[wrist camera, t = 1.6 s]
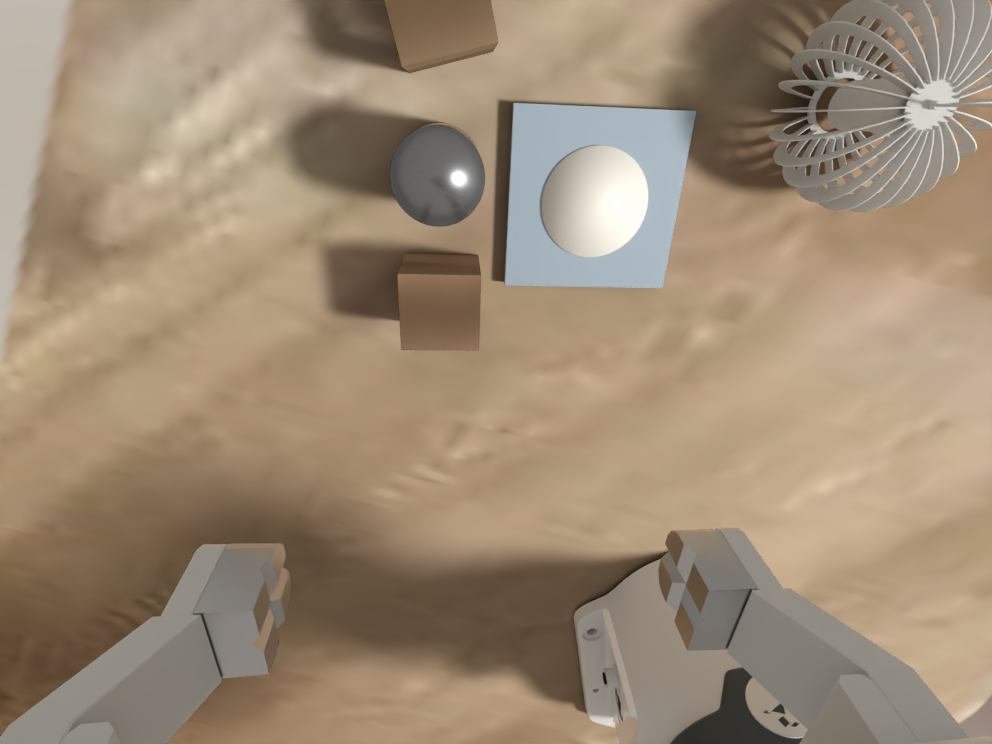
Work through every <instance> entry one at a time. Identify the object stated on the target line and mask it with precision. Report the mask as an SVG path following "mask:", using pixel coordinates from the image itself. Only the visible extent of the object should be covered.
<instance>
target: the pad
mask: <svg viewBox="0 0 992 744" xmlns="http://www.w3.org/2000/svg"><path fill="white" fill-rule="evenodd" d="M695 116H696V111H683V110H661V109H639V108H617V107H595V106H572V105H550V104H528V103H513V107H512V128H511V149H510V170H509V190H508V211H507V232H506V253H505V274H504V284H505V285H514V286H572V287H629V288H662V287H663V282H664V277H665V272H666V267H667V261H668V256H669V251H670V246H671V241H672V235H673V230H674V225H675V220H676V215H677V209H678V204H679V199H680V194H681V189H682V184H683V178H684V173H685V168H686V163H687V158H688V152H689V147H690V142H691V137H692V132H693V126H694V121H695Z"/></svg>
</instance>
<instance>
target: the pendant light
mask: <svg viewBox="0 0 992 744" xmlns="http://www.w3.org/2000/svg"><path fill="white" fill-rule="evenodd" d="M926 3H931V5H932V6H933V7H931V8H929V7H928V5H927V4H926ZM896 4H898V5H900V6H898V7H897V8H896V9H895V10H894V9H893V8H892V6H894V5H896ZM909 11H910V12H911V13H912V14H913V15H914V17H915V18H913V19H912V20H910V21H909V22H908V23H907V22H906V20H905V19H904V18H903V17H902V16H903V15H904V14H906V13H907V12H909ZM954 12H956V15H957V20H956V21H955V14H954ZM862 16H866V18H865V19H864V21H863V22H862V24H861V26H860V25H857V24H856V23H857V22H858V21H859V20H860V19H861V17H862ZM936 16H938V18H939V25H940V27H939V28H937V29H936V26H935V23H934V19H933V18H934V17H936ZM877 18H878V19H880V20H882V21H883V22H882V23H881V24H880V25H879V27H878V28H877V29H876V30H875V32H873V31H871V30H869V28H870V26H871V25H872V24H873V23H874V21H875V20H876V19H877ZM918 25H919V26H920V29H921V31H922V34H923V36H921V37H919V38H918V39H917V37H916V35H915V33H914V32H913V30H912V29H913V28H914V27H916V26H918ZM890 26H891V27H892V28H893V29H894V30H895V31H896V32H895V33H894V34H893V35H892V36H891V37H890V38H889V39H887V40H885V39H884V38H882V37H881V35H882V34H883V33H884V32H885V31H886V30H887V29H888V28H889V27H890ZM971 29H972V31H971ZM954 31H956V34H955V38H954ZM970 31H971V35H970ZM838 35H840V37H839V41H838V46H837V51H832V44H833V40H834V37H835V36H838ZM969 35H970V38H969ZM849 36H853V37H854V40H853V42H852V44H851V47H850V50H849V53H848V54H845V50H846V46H847V41H848V38H849ZM938 36H940V40H939V44H938ZM900 37H901V38H902V40H903V41H904V43H905V45H906V46H904V47H903V48H901V49H900V50H897V49H896V48H895V47H894V46H893V45H892V44H893V43H894V42H895V41H896V40H898V39H899V38H900ZM968 38H969V41H968ZM983 39H984V40H983ZM862 40H865V41H867V43H866V45H865V46H864V48H863V49H862V51H861V53H860V55H859V57H858V58H857V57H856V55H857V52H858V49H859V46H860V44H861V42H862ZM967 41H968V42H967ZM822 42H823V49H818V47H819V45H820V44H821V43H822ZM922 43H924V45H925V51H926V57H925V54H924V52H923V50H922V47H921V45H920V44H922ZM873 46H876V47H877V48H879V49H878V50H877V51H876V52H875V53H874V54H873V55H872V57H871V58H870V59H869V60H868V61H865V60H866V58H867V56H868V54H869V53H870V51H871V49H872V48H873ZM907 51H909V53H910V55H911V57H912V59H913V62H911V63H909V62H908V61H907V60H906V59H905V57H904V56H903V54H904V53H906V52H907ZM977 51H978V52H977ZM976 52H977V53H976ZM883 53H885V54H886V55H887V56H888V57H889V58H887V59H886V60H885V61H883V62H882V63H881V64H880V65H879V66H877V65H875V62H876V61H877V60H878V59H879V58H880V56H881V55H882V54H883ZM975 53H976V55H975ZM974 55H975V56H974ZM989 55H990V58H989V60H988V61H987V62H986V63H985V65H984V66H983V67H981V68H980V69H979V70H976V69H977V68H978V67H979V66H980V65H981V64H982V63H983V62H984V61H985V60H986V58H987V57H988V56H989ZM973 56H974V57H973ZM817 59H824V66H825V70H826V74H827V78H825V76H824V75H823V73H822V71H821V69H820V67H819V64H818V61H817ZM971 59H972V60H971ZM833 60H836V61H835V71H834V67H833ZM808 61H809V64H810V67H811V69H812V71H813V73H814V75H815V76H816V78H817V79H818V81H816V80H809V79H808V77H807V76H806V75H805V74H804V72H803V68H802V66H803V65H804V64H805V63H807V62H808ZM844 62H846V63H845V67H844ZM892 62H894V63H895V64H896V65H897V66H898V67H899V68H898V69H896V70H894V71H892V72H888V71H886V70H885V69H884V68H885V67H887V66H888V65H889V64H890V63H892ZM790 65H791V69H792V71H793V72H794V74H795V75H796V76H797V77H798V78H799V79H800V80H786V81H782V82H779V84H778V88H780V89H781V90H783V91H785V92H787V93H790V94H793V95H796V96H799V97H802V98H806V99H810V102H809V105H808V107H799V108H784V109H773V110H771V112H808V115H807V116H804V117H801V118H798V119H795V120H793V121H790V122H788V123H785V124H783V125H781V126H779V127H777V128H775V129H774V130H772V131H771V132H770V134H769V138H770V139H771V140H774V141H783V142H782V143H781V144H780V145H779V146H778V147H777V148H776V150H775V152H774V155H773V158H774V162H775V163H776V164H778V165H780V166H783V172H782V174H783V178H784V180H785V181H786V183H787V184H789V185H790V186H793V187H796V188H797V190H798V193H799V194H800V195H801V197H803V198H804V199H806V200H808V201H811V202H818V203H819V204H820V205H822V206H823V207H825V208H827V209H830V210H835V211H842V210H850V211H853V212H868V211H873V210H875V209H878V208H880V207H882V208H889V207H894V206H897V205H900V204H902V203H904V202H905V201H907V200H908V199H909V198H910V197H911V196H919V195H922V194H924V193H926V192H928V191H929V190H931V189H932V188H933V187H934V186H935V185H936V183H937V181H938V180H939V179H943V178H946V177H949V176H950V175H952V174H953V173H954V172H955V171H956V170H957V168H958V166H959V157H964V156H969V155H971V154H973V153H974V152H975V151H976V149H977V145H976V142H975V140H974V138H973V137H972V135H971V134H970V133H969V132H968V131H967V130H988V129H991V128H992V124H991V123H989V122H988V121H986V120H983V119H981V118H978V117H975V116H972V115H969V114H966V113H963V112H959V111H956V109H957V107H992V100H959V99H960V98H963V97H966V96H969V95H972V94H974V93H977V92H980V91H982V90H985V89H987V88H990V87H992V7H991V3H990V2H989V0H854V1H851V2H849V3H847V4H845V5H844V6H842V7H841V8H840V9H839V10H837V12H836V13H835V14H834V15H833V17H832V18H831V19H830V21H829V22H827V23H824V24H822V25H820V26H818V27H817V28H816V29H815V30H814V31H813V32H812V33H811V35H810V36H809V38H808V41H807V46H806V50H803V51H800V52H797V53H796V54H795V55H794V56H793V57H792V59H791V63H790ZM853 65H854V67H853ZM914 66H915V68H916V71H917V72H916V71H915V69H914V68H913V67H914ZM861 68H862V69H861ZM860 70H861V71H860ZM869 71H871V72H870V73H869V74H868V75H867V76H866V74H867V73H868V72H869ZM901 72H903V73H904V75H905V76H906V77H897V76H895V75H897V74H899V73H901ZM876 75H879V76H881V78H880V79H873V78H874V77H875V76H876ZM969 76H970V77H969ZM984 76H987V77H990V79H989V80H988V81H986V82H985V83H983V84H981V85H979V86H977V87H974V88H972V89H970V90H967V91H964V92H962V93H960V92H961V91H962V90H964V89H966V88H967V87H969V86H971V85H972V84H974V83H975V82H977V81H978V80H980V79H981V78H982V77H984ZM968 77H969V78H968ZM841 78H853V79H855V80H854V81H850V82H848V83H846V84H843V83H836V82H834V81H837V80H839V79H841ZM799 85H807V86H808V87H809V88H811V89H812V90H814V93H813V95H812V97H811V96H808V95H805V94H802V93H799V92H796V91H794V90H793V89H792V87H794V86H799ZM816 85H819V86H816ZM828 86H833V87H840V88H839V89H838V90H837V91H836V93H835V94H834V95H833V97H832V99H831V101H830V103H829V106H828V110H816V105H817V102H818V100H819V98H820V96H821V95H822V93H823V91H824V90H825V89H826V88H827V87H828ZM959 102H968V103H959ZM795 109H808V110H795ZM816 112H828V113H827V114H828V120H829V122H830V124H831V125H832V126H833V127H834V128H836V129H838V131H833V132H827V131H824V130H822V129H821V127H820V126H819V125H818V124H817V120H816V116H815V113H816ZM953 115H956V116H959V117H962V118H964V119H967V120H969V121H971V122H973V123H974V125H968V126H962V125H961V124H960V123H959V122H958V121H956V120H955V119H954V118H952V116H953ZM806 119H807V120H808V123H807V124H806V125H804V126H803V127H801V128H800V129H798V130H797V131H795V132H794V133H792V134H791V135H788V134H786V133H784V132H783V131H784V130H785V129H786V128H787V127H789V126H791V125H793V124H795V123H798V122H801V121H803V120H806ZM809 128H810V131H809V132H808V133H807V134H806V135H800V134H801V133H803V132H804V131H806V130H807V129H809ZM951 129H953V130H954V131H955V133H956V134H957V135H958V137H959V138H960V141H961V145H960V146H959V147H957V143H956V140H955V138H954V135H953V133H952V131H951ZM861 131H867V132H873V133H875V134H874V135H872V136H870V137H868V138H866V137H865V136H864V135H863V134H862V132H861ZM852 132H853V133H854V134H855V136H856V137H857V138H858V139H859V141H860V142H858V143H854V140H853V137H852V134H851V133H852ZM890 133H893V134H892V135H891V136H890V135H888V134H890ZM844 138H845V141H846V144H847V147H846V148H844ZM881 138H885V139H886V140H885V141H883V142H882V143H881V144H879V145H878V146H877V147H874V146H873V145H872V144H871V143H872V142H874V141H877V140H879V139H881ZM820 139H821V140H820ZM808 140H811V142H810V143H809V145H808V146H807V148H806V150H805V152H804V153H803V155H802V157H801V158H799V157H797V155H798V153H799V152H800V150H801V149H802V147H803V146H804V145H805V144H806V143H807V142H808ZM819 140H820V142H819ZM792 141H799V142H798V143H797V145H796V146H795V147H794V148H793V150H792V151H791V152H790V154H788V153H787V150H786V149H787V147H788V145H789V144H790V143H791V142H792ZM818 142H819V144H818V146H817V149H816V152H815V155H814V157H810V156H811V154H812V152H813V150H814V148H815V147H816V145H817V143H818ZM835 142H836V151H834V147H835ZM943 143H944V146H943ZM826 144H827V147H826V153H825V154H824V155H823V152H824V149H825V146H826ZM892 144H894V145H893V146H892V147H891V148H890V149H889V150H888V151H887V152H886V153H885V154H883V153H882V152H883V151H885V150H886V149H887V148H889V147H890V146H891V145H892ZM864 146H865V147H866V148H867V149H868V150H869V152H868V153H867V154H865V155H864V156H862V157H861V156H860V154H859V152H858V150H857V149H859V148H862V147H864ZM944 147H945V149H944ZM847 153H851V155H852V157H853V159H854V162H852V163H850V164H848V165H847V162H846V158H845V154H847ZM896 155H897V156H896ZM895 156H896V157H895ZM944 156H945V160H944V162H943V158H944ZM875 157H878V158H879V160H878V161H877V162H876V163H875V164H874V165H873V166H872V167H869V166H868V165H867V164H866V163H867V162H869V161H870V160H872V159H873V158H875ZM894 157H895V159H893V158H894ZM834 158H837V159H838V163H839V167H840V169H838V170H835V171H833V159H834ZM930 159H931V160H930ZM824 161H825V174H822V175H819V168H820V163H821V162H824ZM929 162H930V165H929ZM887 164H888V165H889V166H888V168H887V169H886V170H885V171H884V173H883V174H882V175H881V176H880V175H879V174H877V173H878V172H879V171H881V170H882V169H883V168H884V167H885V166H886V165H887ZM807 165H812V166H811V172H810V176H807V175H806V166H807ZM928 165H929V168H928ZM795 167H797V170H796V169H795ZM857 168H860V169H861V170H862V171H863V172H864V173H863V174H861V175H860V176H858V177H857V178H854V177H853V175H852V174H851V172H852V171H854V170H856V169H857ZM898 170H900V172H899V173H898V175H897V176H896V177H895V179H894V180H893V181H891V179H892V178H893V176H894V175H895V174H896V173H897V171H898ZM910 175H911V177H910ZM842 176H843V177H844V179H845V181H846V184H844V185H841V186H839V184H838V183H837V181H836V179H838V178H840V177H842ZM909 177H910V179H909V180H908V178H909ZM870 179H871V180H872V181H873V183H872V184H871V185H870V186H868V187H867V188H865V187H864V186H862V185H863V184H864V183H866V182H867V181H868V180H870ZM907 180H908V182H907V183H906V181H907ZM825 183H827V185H828V188H829V189H825V188H824V186H823V185H822V184H825ZM905 183H906V184H905ZM882 188H883V189H884V190H883V191H882V192H880V193H878V192H879V191H880V190H881V189H882ZM852 191H853V192H854V193H855V194H853V195H850V194H848V193H850V192H852Z"/></svg>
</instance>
